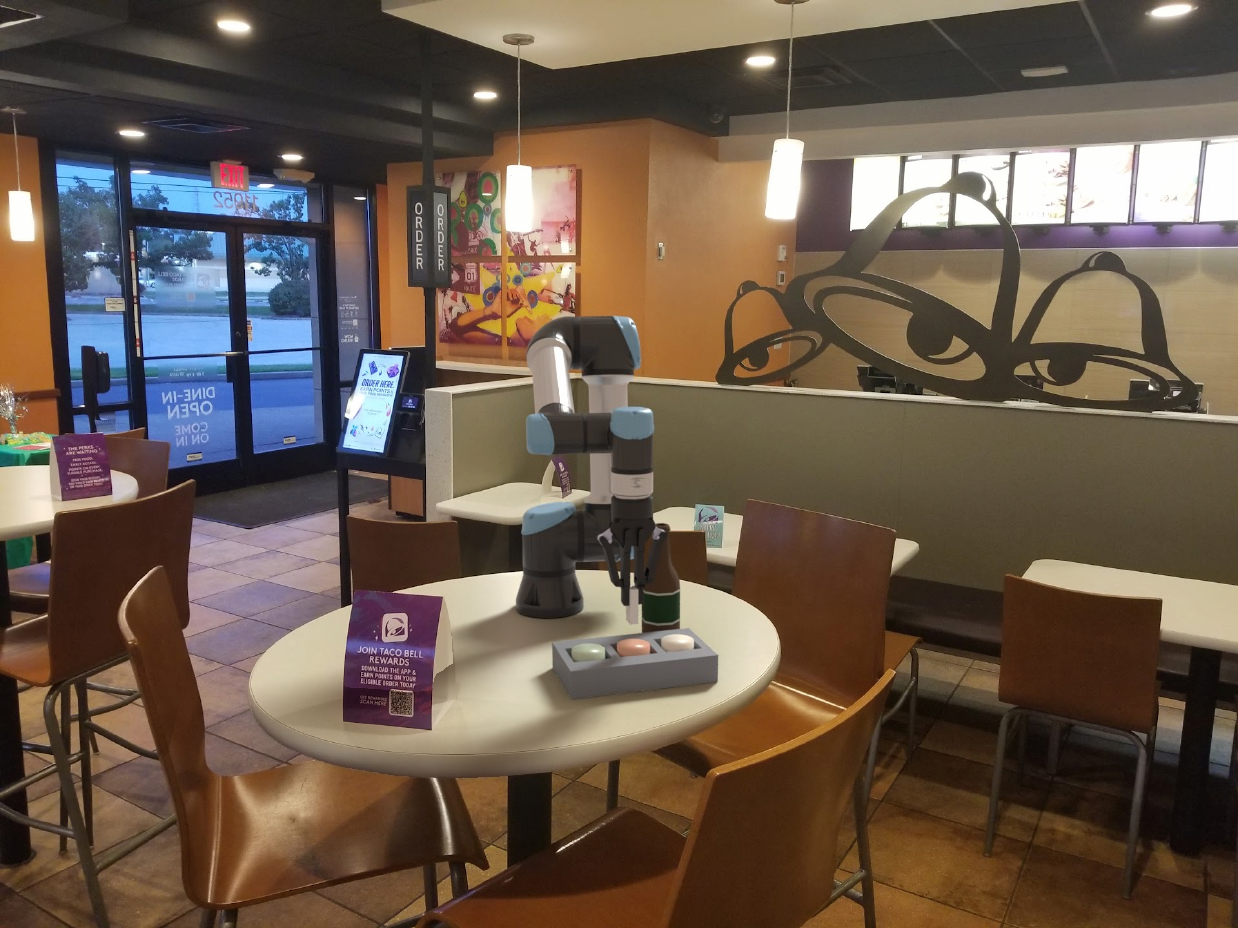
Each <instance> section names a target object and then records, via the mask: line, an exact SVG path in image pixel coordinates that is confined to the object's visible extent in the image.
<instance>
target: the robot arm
mask: <svg viewBox="0 0 1238 928" xmlns="http://www.w3.org/2000/svg"><path fill="white" fill-rule="evenodd" d="M639 337H640V336H639V332H638V329H637V326H636V323H635V321H634V320H633V319H632V318H631V317H628V316H618V315H594V316H592V315H591V316H590V315H589V316H587V315H585V316H573V315H571V316H570V315H569V316H561V317H557V318H555V319H552V320H550V321H549V322H546V323H545V324H544V325H542V326H541V327H540V328H539V329H537V331H536V332H535V333H533V335H532V337H531V339H529V340H530V341H529V342H528V344H527V348H526V363H527V367H528V369H529V370H530V371H531V373H532V388H533V399H534V400H533V402H534V413H531V414H528V415H527V416H526V418H525V425H526V426H525V427H526V428H525V431H526V433H525V434H526V435H525V436H526V437H525V438H526V450H527V452H528V453H530V454H532V455H545V456H552V455H554V456H555V455H577V454H578V455H581V454H584V455H585V454H589V469H590V494H588V496H587V497H586V498H585V499H584V501H583V509H582V508H581V509H576V506H575V504H574V503H572V502H569V501H566V502H565V501H564V502H563V501H555V502H550V503H549V502H547V503H543V504H540V505H535V506H532V507H530V508H529V509H527V510H526V511H525V512H524V513H523V514H522V522H521V523H522V527H521V535H522V577H521V581H520V583H519V587H518V591H517V594H516V598H515V610H516V612H517V613H518V614H521V615H523V616H525V617H532V618H537V619H538V618H541V619H554V618H555V619H556V618H565V617H569V616H573V615H576V614H578V613H580V612H581V611H583V609H584V602H585V601H584V595H583V592H582V589H581V587H580V583H579V581H578V577H577V574H576V563H582V562H583V563H585V562H587V563H588V562H590V563H591V562H605V563H606V567H607V571H608V575H609V579H610V582H611V583H612V585H614V586H615V587H616V588H620V602H621V605H622V606H623V607H625V620H626V621H627V623H628V624H629V625H630V626H631V625H638V624H639V605H642V604H643V589H644V588H645V585H647V584H652V583H653V581H654V577H655V573H656V569H657V565H658V560H659V556H660V552H661V548H662V544H663V543H664V541H665V539H666V538H667V536H668V534H667V533H666V532H665V531H664V530H662V529H659V528H657V527H656V524H657V523H656V522H655V520H654V497H653V496H652V494H653V492H654V438H655V437H654V435H655V433H654V431H655V428H656V427H655V425H654V413H653V410H652V409H650V408H648V407H644V406H628V404H629V402H628V401H629V400H628V385H629V383H630V382H631V381H632V380H633V379H634V377H635V371H636V370H639V369H640V368H641V366H642V365H641V364H642V359H641V356H642V354H641V353H642V352H641V344H640V338H639ZM570 370H572V371H573V370H579V371H580V370H581V379H582V380H583V381H584V382H585V383H586V384H587V386H588V410H589V411H588V412H582V413H581V412H580V413H579V412H578V413H577V412H576V413H575V407H574V406H575V405H574V400H573V399H574V397H573V391H572V384H571V377H570V376H571V375H570ZM650 537H652V539H651V541H650V542H651V543H650V546H649V550H648V555H647V559H646V564H645V551H646V543H647V542H648V540H649V538H650ZM631 560H633V583H634V584H631ZM616 562H619V567H620V568H619V569H620V570H618V567H617V563H616ZM619 571H620V572H619Z"/></svg>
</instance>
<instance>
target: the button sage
mask: <svg viewBox="0 0 1238 928" xmlns="http://www.w3.org/2000/svg"><path fill="white" fill-rule="evenodd" d="M600 659H605V648H604V647H603V646H601V645H598V644H580V645H576V646H574V647H573V648H572V660H573V662H582V661H591V660H600Z"/></svg>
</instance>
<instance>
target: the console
mask: <svg viewBox="0 0 1238 928" xmlns="http://www.w3.org/2000/svg"><path fill="white" fill-rule="evenodd" d="M672 634H681V635H687V636H690V637H692V638H693V639H694V649H691V650H682V651H673V652H665V651H664V650H663V649H662V648H661V639H662V638H663V637H664V636H667V635H672ZM626 639H641V640H645V641H647V642H649V643H650V654H646V655H636V656H627V657H620V656H619V655H618V654H617V643H618V642H620V641H622V640H626ZM580 644H598V645H601V646H603V647H604V648H605V659H600V660H591V661H582V662H573V660H572V648H573V647H574V646H576V645H580ZM551 647H552V649H551V653H552V654H551V655H552V656H551V658H552V662H551V664H552V669H553V671H554V673H555V674H556V676H557V678H558V680H559V679H560V680H559V681H560V683H561V685H562V686H563V688H564V690H565V691H566V694H567V695H568V696H569V698H570V699H571V700H575V699H576V700H577V699H578V700H579V699H585V698H587V699H588V698H592V697H594V696H595V697H600V696H601V697H602V696H603V697H604V696H612V695H618V694H619V693H620V694H626V692H628V693H635V692H642V690H645V691H650V690H659V689H660V690H661V689H667V688H676V687H684V686H685V687H686V686H693V685H702V684H710V683H717V682H719V654H718V653H717V652H716V651H714V650H713V649H712V648H711V647H710V646H709V645H708V644H707V643H706V642H705V641H704V640H702V639H701V637H699V636H698V635H697V634H696V633H695V632H694V631H693V630H691V629H690V628H689V627H687V628H680V629H675V630H665V631H656V632H646V633H642V632H639V633H628V634H619V635H607V636H599V637H590V638H588V637H587V638H581V639H579V638H577V639H570V640H560V641H553V642H551ZM620 694H619V695H620Z"/></svg>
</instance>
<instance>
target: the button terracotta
mask: <svg viewBox="0 0 1238 928" xmlns="http://www.w3.org/2000/svg"><path fill="white" fill-rule="evenodd" d="M617 654H618V655H619V656H620V657H627V656H636V655H646V654H650V643H649V642H647V641H645V640H641V639H626V640H622V641H620V642H618V643H617Z"/></svg>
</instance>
